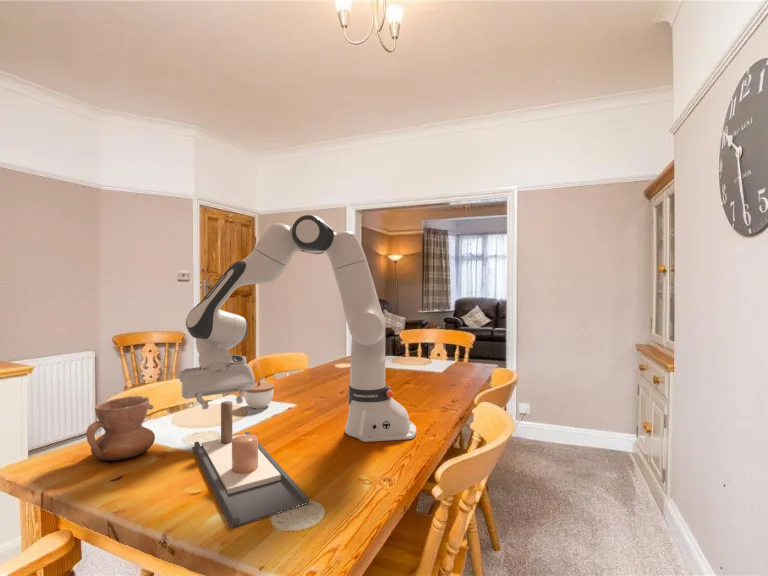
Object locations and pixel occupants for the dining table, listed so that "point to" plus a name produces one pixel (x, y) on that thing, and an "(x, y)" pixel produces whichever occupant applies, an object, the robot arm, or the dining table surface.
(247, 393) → the lidded jar
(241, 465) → the pink pillar candle
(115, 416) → the ceramic jug
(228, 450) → the wooden peg stand
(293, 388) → the dining table surface
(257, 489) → the grey rimmed tray
